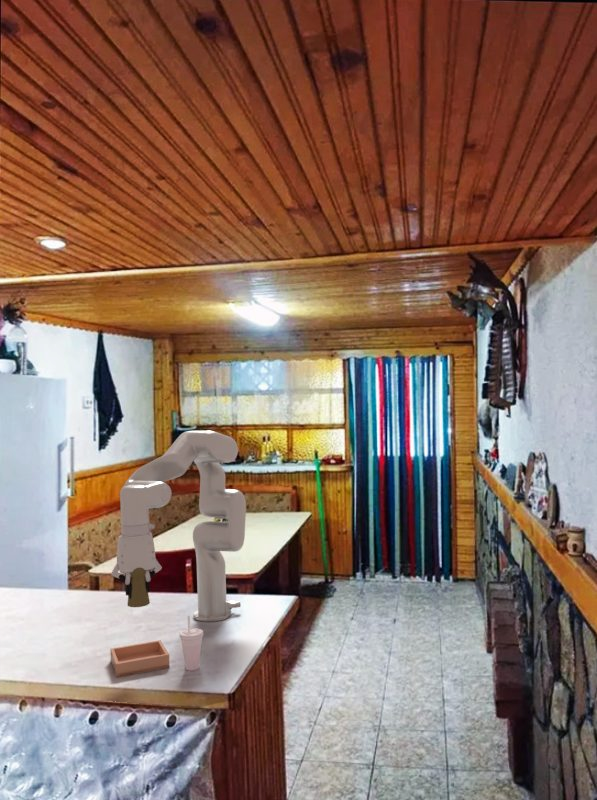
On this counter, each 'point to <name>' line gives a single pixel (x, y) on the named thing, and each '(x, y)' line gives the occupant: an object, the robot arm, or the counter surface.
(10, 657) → the counter surface
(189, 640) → the smoothie
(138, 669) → the terracotta tray
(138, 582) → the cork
